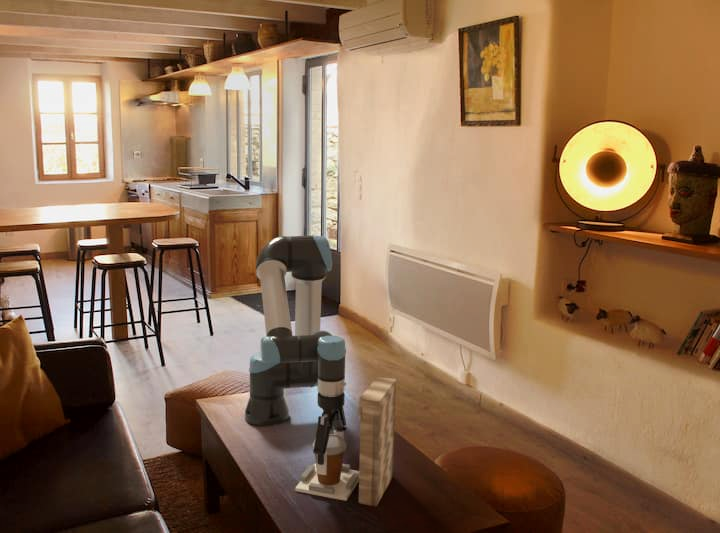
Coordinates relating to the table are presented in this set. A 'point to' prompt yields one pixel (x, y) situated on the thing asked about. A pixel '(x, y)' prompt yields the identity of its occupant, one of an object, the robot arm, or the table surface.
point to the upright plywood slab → (376, 439)
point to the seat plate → (336, 491)
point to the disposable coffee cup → (333, 460)
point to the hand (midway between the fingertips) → (330, 462)
